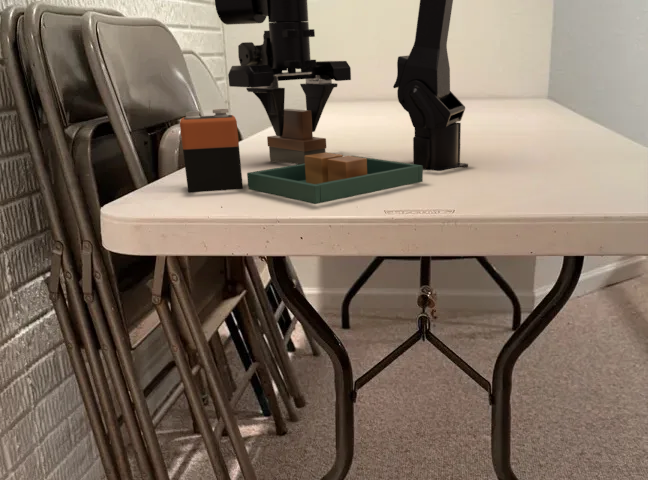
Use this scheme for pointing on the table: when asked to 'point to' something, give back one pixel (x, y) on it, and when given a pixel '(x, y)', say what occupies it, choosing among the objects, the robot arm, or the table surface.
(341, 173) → the crumb
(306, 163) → the brown wooden cube
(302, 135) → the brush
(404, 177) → the tray
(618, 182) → the table surface
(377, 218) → the table surface
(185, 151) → the battery
